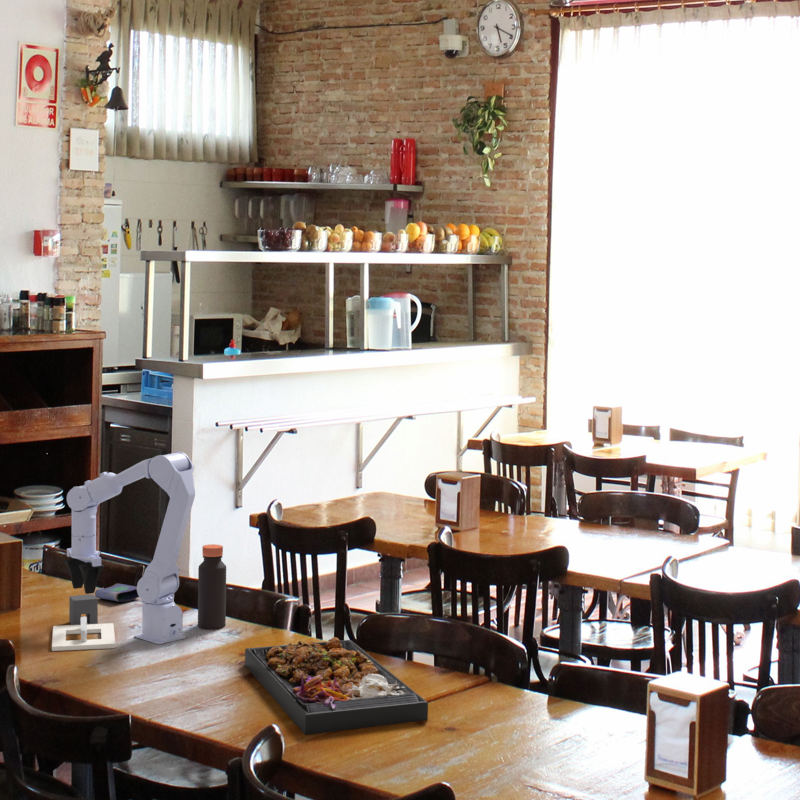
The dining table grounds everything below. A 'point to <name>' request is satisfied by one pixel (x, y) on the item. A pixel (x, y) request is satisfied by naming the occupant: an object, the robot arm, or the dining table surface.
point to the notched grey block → (83, 609)
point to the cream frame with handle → (83, 636)
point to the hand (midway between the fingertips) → (83, 590)
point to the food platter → (333, 686)
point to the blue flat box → (118, 593)
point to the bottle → (212, 589)
